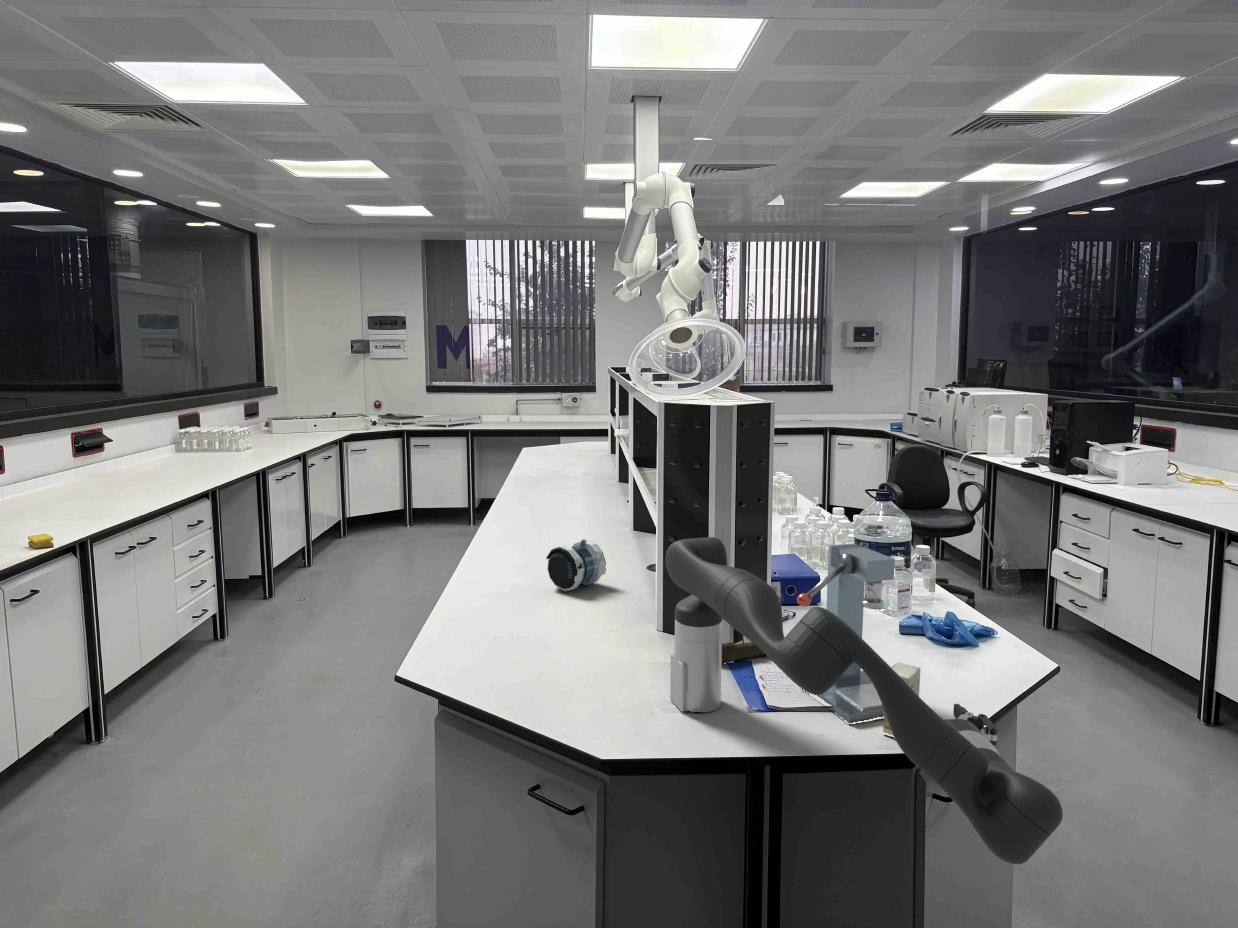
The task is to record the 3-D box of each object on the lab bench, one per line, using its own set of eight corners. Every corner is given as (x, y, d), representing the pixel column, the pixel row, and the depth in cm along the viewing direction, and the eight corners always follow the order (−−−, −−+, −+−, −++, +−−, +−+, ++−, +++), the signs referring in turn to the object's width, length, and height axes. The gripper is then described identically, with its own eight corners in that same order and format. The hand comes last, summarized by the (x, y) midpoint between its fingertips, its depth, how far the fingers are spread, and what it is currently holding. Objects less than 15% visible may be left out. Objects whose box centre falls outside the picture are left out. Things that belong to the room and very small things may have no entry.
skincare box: (894, 723, 149) (898, 660, 147) (918, 730, 146) (921, 666, 145) (881, 736, 144) (884, 671, 143) (905, 743, 142) (909, 677, 140)
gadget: (560, 601, 229) (585, 567, 222) (536, 567, 235) (559, 533, 227) (594, 590, 240) (618, 557, 232) (570, 559, 246) (593, 525, 238)
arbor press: (821, 729, 147) (827, 571, 142) (775, 692, 162) (779, 549, 158) (920, 713, 153) (929, 561, 149) (867, 679, 169) (873, 540, 165)
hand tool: (774, 649, 187) (775, 630, 186) (785, 655, 183) (785, 635, 183) (704, 662, 179) (704, 642, 179) (713, 668, 176) (713, 648, 175)
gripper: (917, 779, 117) (885, 729, 133) (1016, 780, 116) (972, 730, 133) (919, 730, 116) (886, 686, 132) (1018, 731, 116) (974, 687, 132)
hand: (929, 708), depth 132 cm, fingers open, 8 cm apart
